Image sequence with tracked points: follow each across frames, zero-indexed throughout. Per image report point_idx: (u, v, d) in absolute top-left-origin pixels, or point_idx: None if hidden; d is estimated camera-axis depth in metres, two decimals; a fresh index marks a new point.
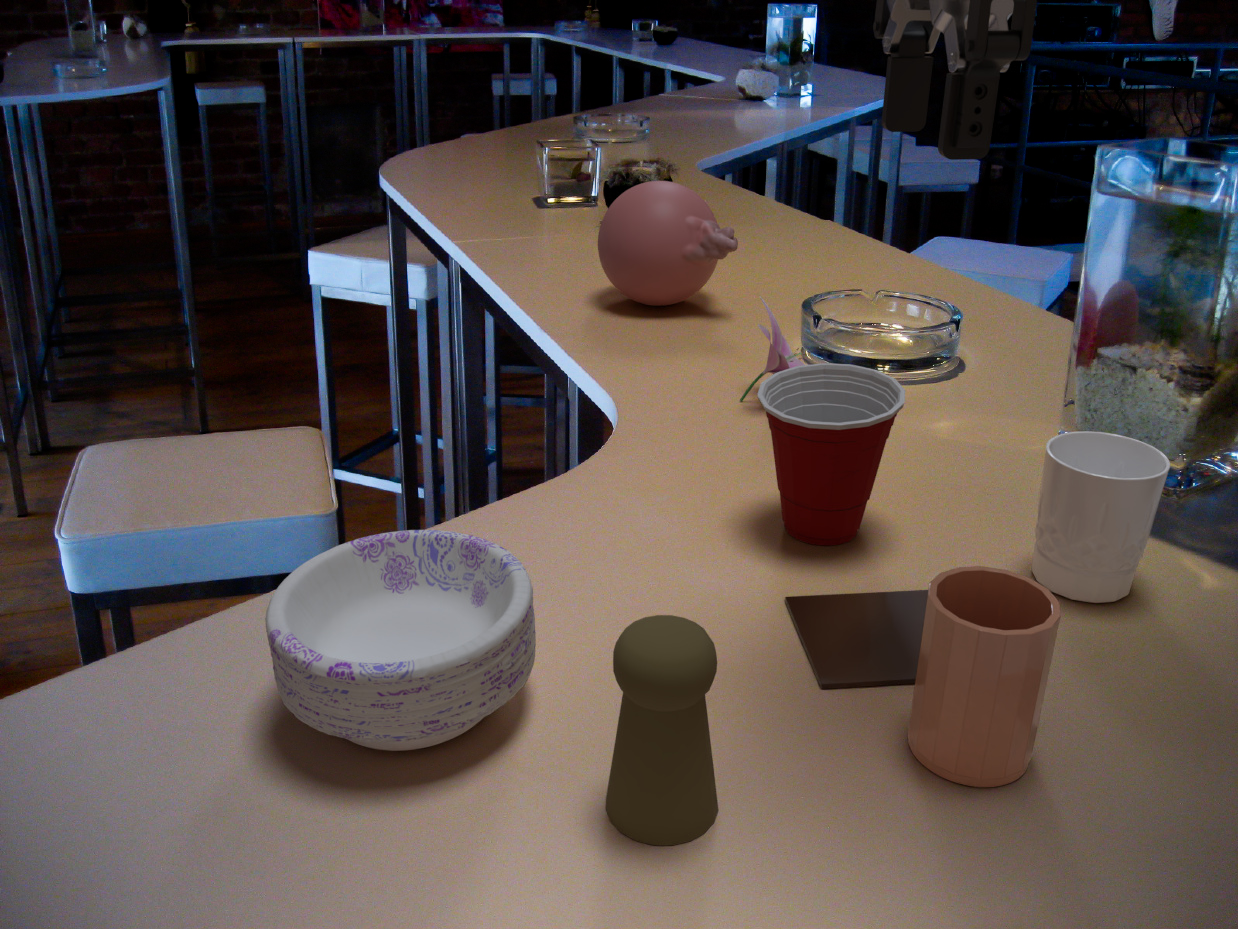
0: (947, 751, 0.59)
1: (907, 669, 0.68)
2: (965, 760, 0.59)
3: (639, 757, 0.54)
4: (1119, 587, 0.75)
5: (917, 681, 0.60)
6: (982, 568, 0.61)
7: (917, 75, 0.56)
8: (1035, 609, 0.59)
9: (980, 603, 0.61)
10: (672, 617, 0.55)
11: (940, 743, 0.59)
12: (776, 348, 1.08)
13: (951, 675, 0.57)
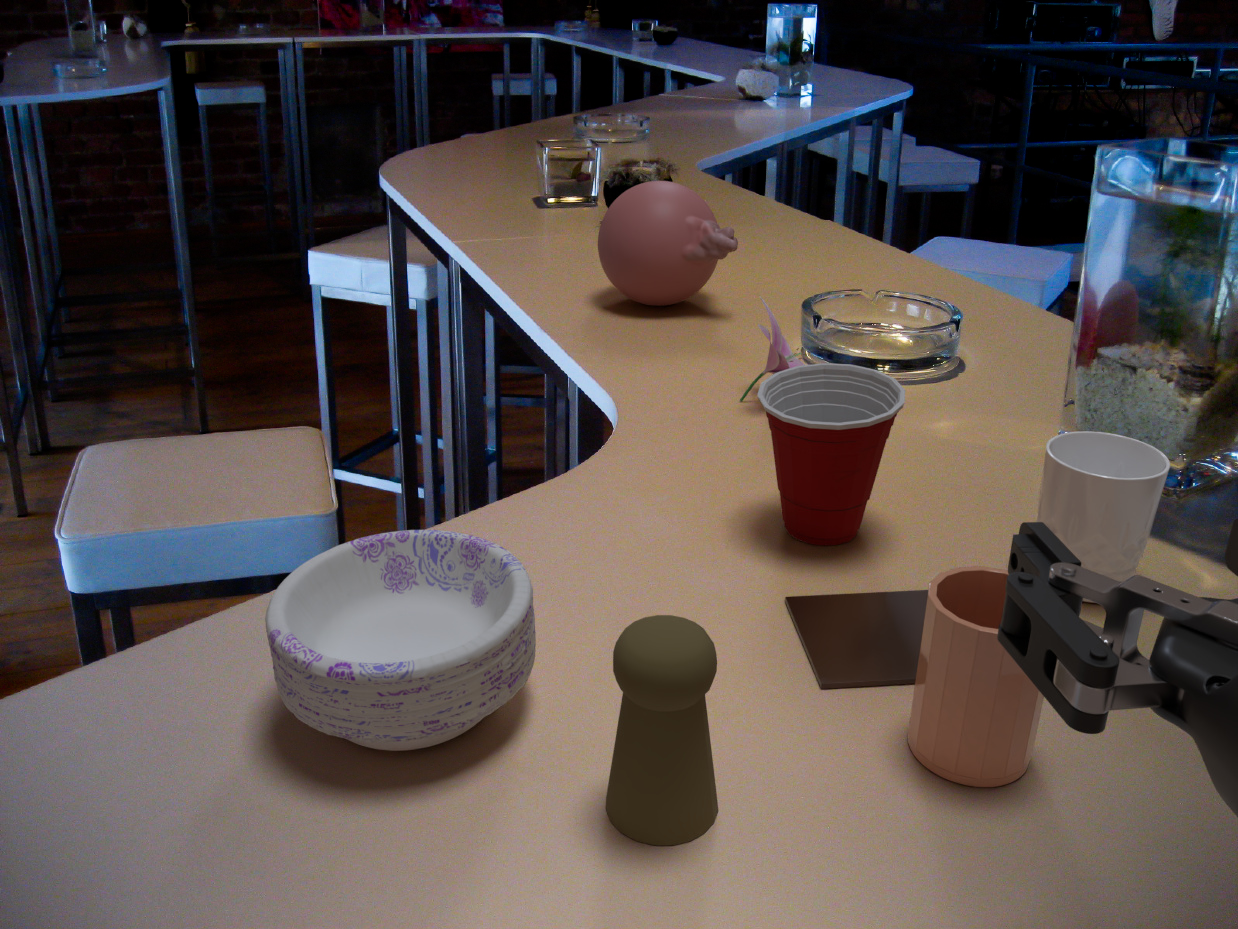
0: (947, 751, 0.59)
1: (907, 669, 0.68)
2: (965, 760, 0.59)
3: (639, 757, 0.54)
4: None
5: (917, 681, 0.60)
6: (982, 568, 0.61)
7: None
8: None
9: (980, 603, 0.61)
10: (672, 617, 0.55)
11: (940, 743, 0.59)
12: (776, 348, 1.08)
13: (951, 675, 0.57)
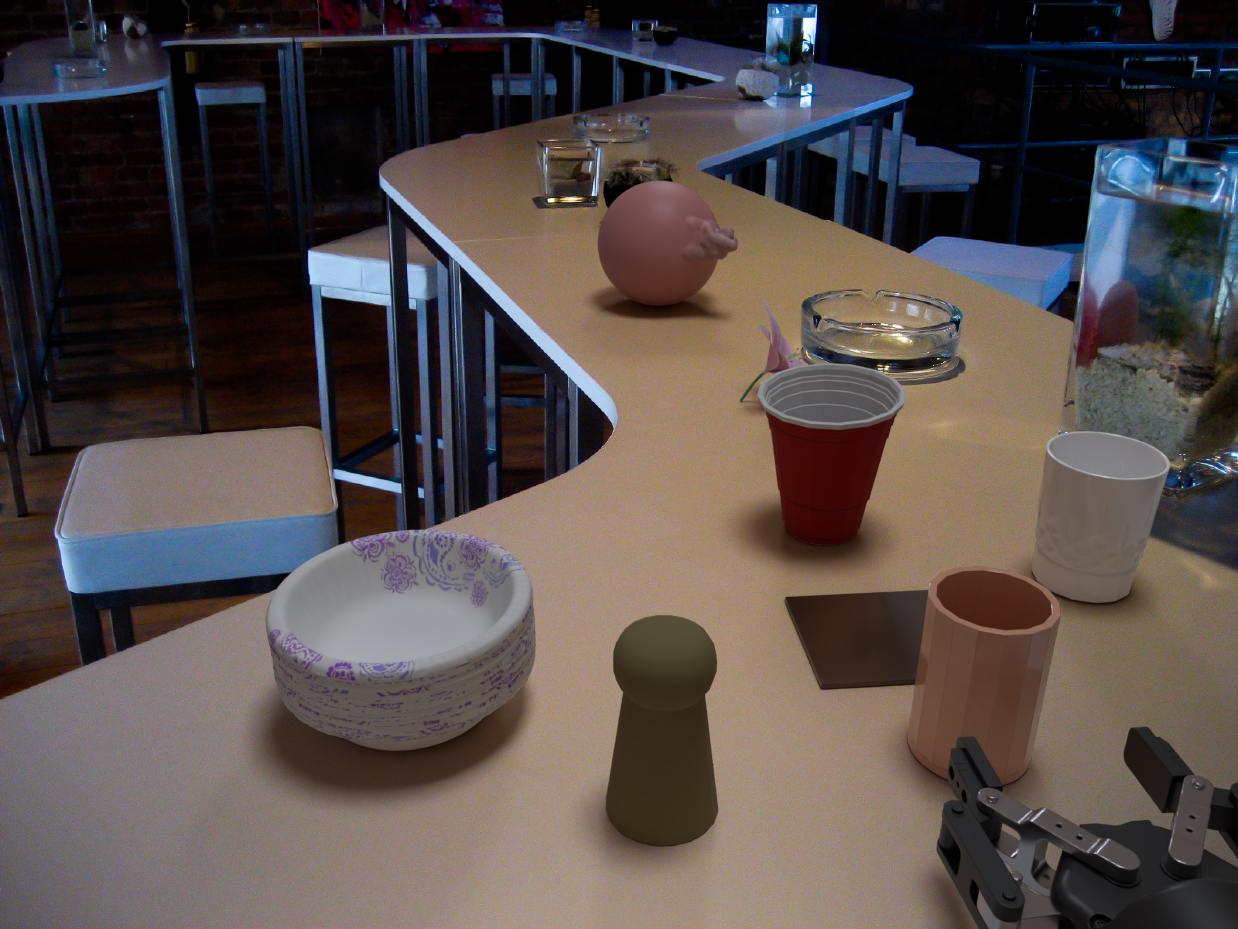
0: (947, 751, 0.59)
1: (907, 669, 0.68)
2: None
3: (639, 757, 0.54)
4: (1119, 587, 0.75)
5: (917, 681, 0.60)
6: (982, 568, 0.61)
7: None
8: (1035, 609, 0.59)
9: (980, 603, 0.61)
10: (672, 617, 0.55)
11: (940, 743, 0.59)
12: (776, 348, 1.08)
13: (951, 675, 0.57)
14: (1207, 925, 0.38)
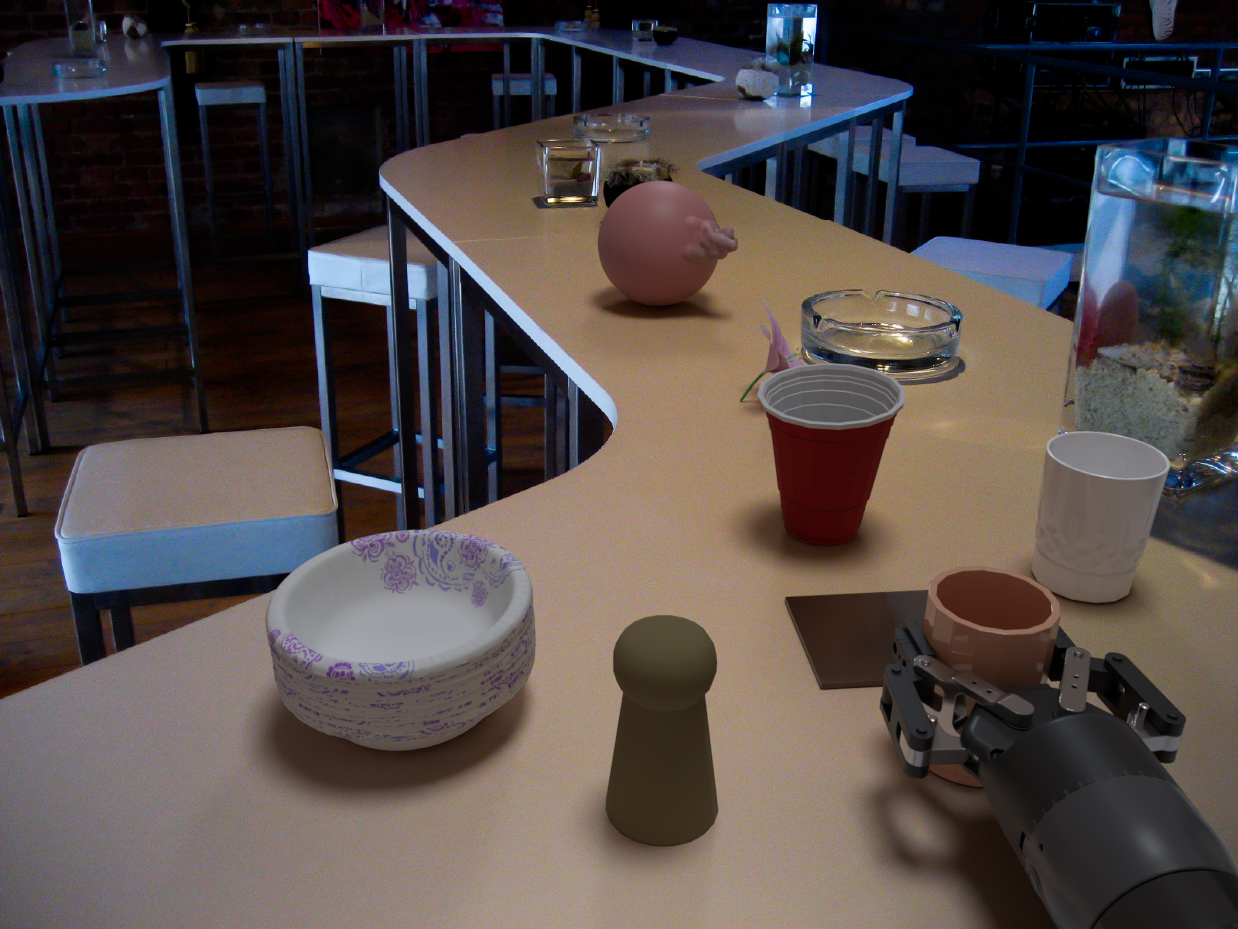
0: None
1: None
2: None
3: (639, 757, 0.54)
4: (1119, 587, 0.75)
5: None
6: (982, 568, 0.61)
7: None
8: (1035, 609, 0.59)
9: (980, 603, 0.61)
10: (672, 617, 0.55)
11: None
12: (776, 348, 1.08)
13: None
14: (1078, 745, 0.47)
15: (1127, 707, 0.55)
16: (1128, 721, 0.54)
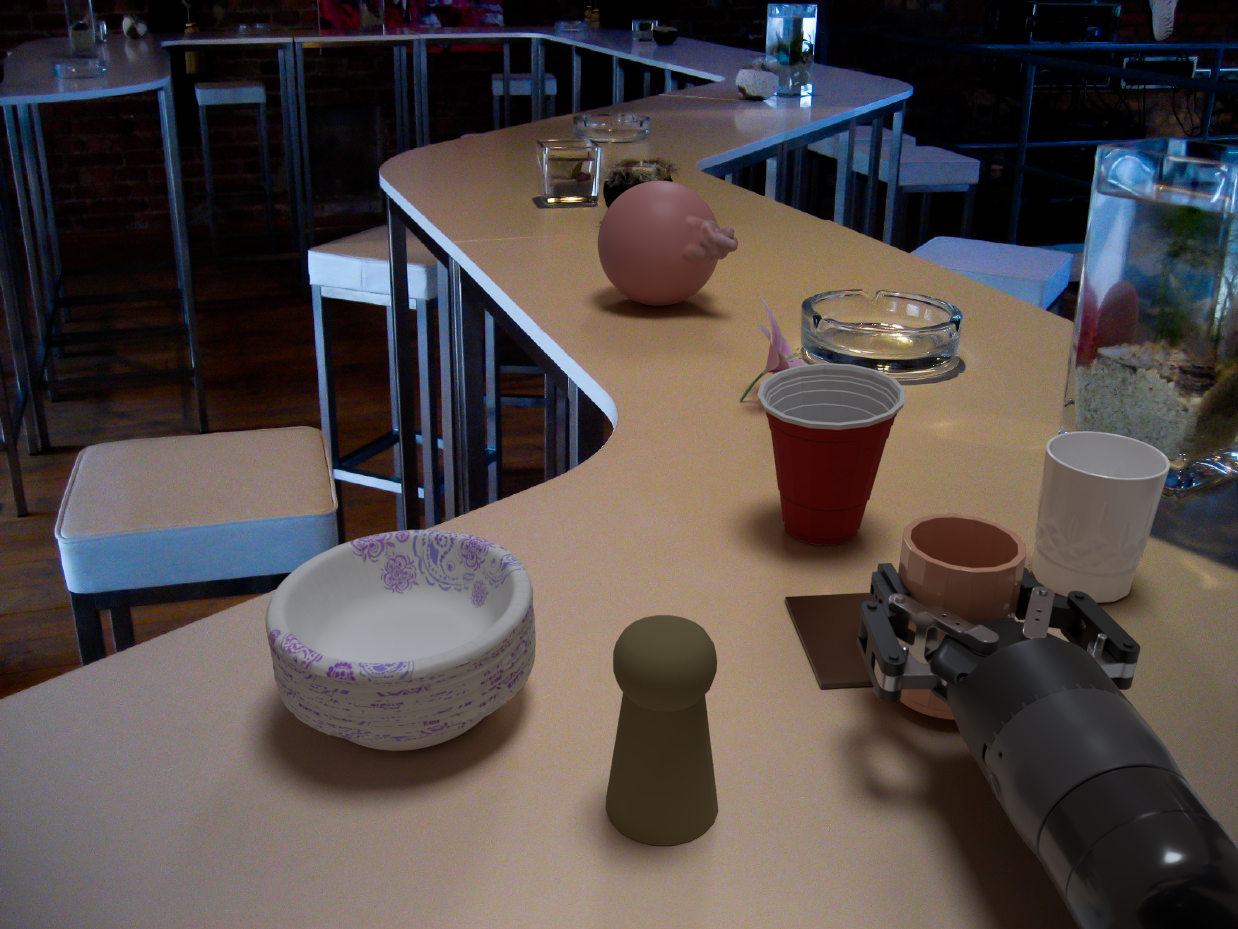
0: None
1: None
2: None
3: (639, 757, 0.54)
4: (1119, 587, 0.75)
5: None
6: (954, 515, 0.65)
7: None
8: (1004, 553, 0.63)
9: (953, 549, 0.65)
10: (672, 617, 0.55)
11: None
12: (776, 348, 1.08)
13: None
14: (1036, 664, 0.51)
15: (1087, 639, 0.59)
16: (1088, 651, 0.58)
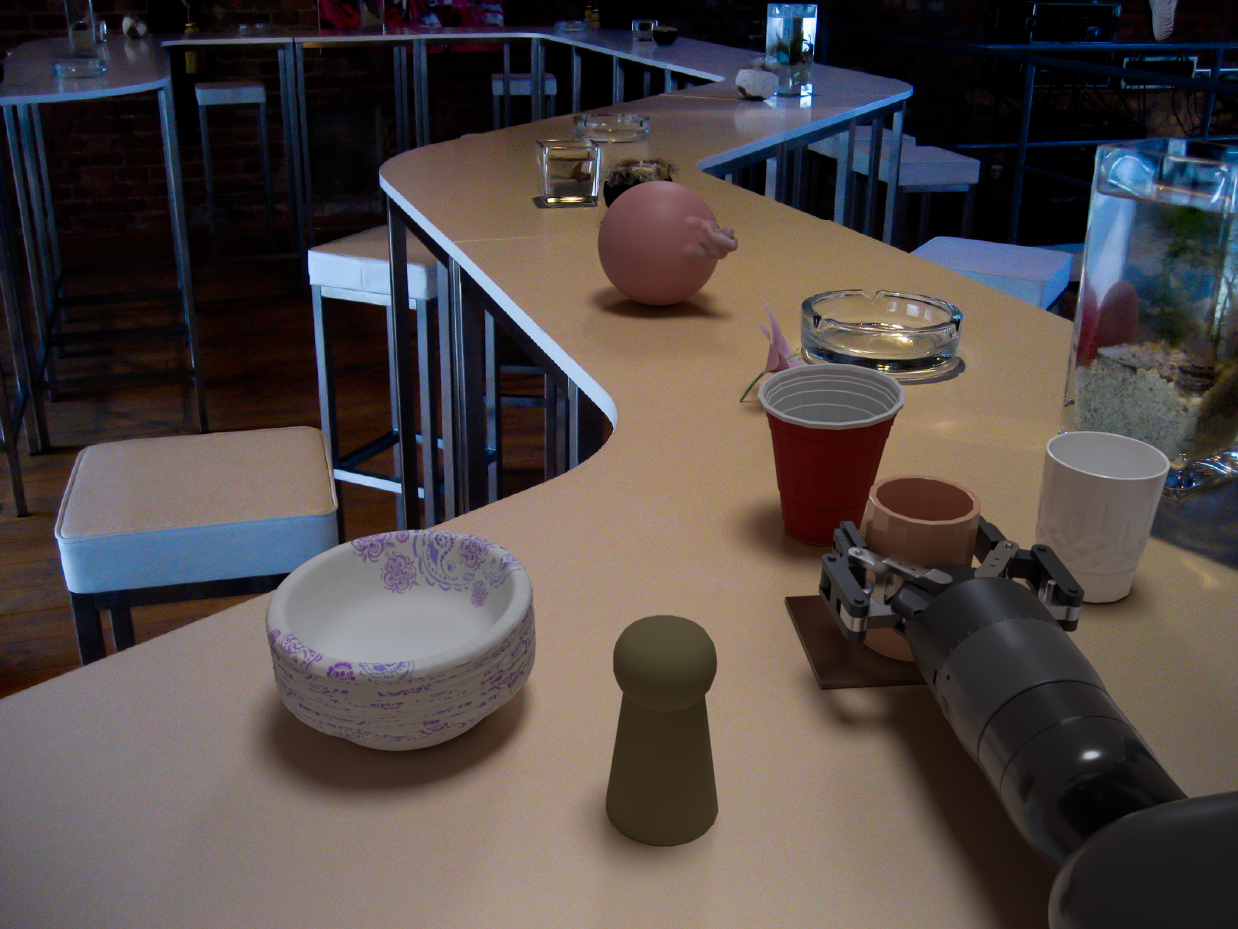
0: (886, 631, 0.69)
1: (907, 669, 0.68)
2: (901, 638, 0.68)
3: (639, 757, 0.54)
4: (1119, 587, 0.75)
5: None
6: (917, 476, 0.70)
7: None
8: (962, 510, 0.69)
9: (916, 507, 0.71)
10: (672, 617, 0.55)
11: None
12: (776, 348, 1.08)
13: None
14: (982, 598, 0.57)
15: (1043, 587, 0.65)
16: (1038, 595, 0.63)
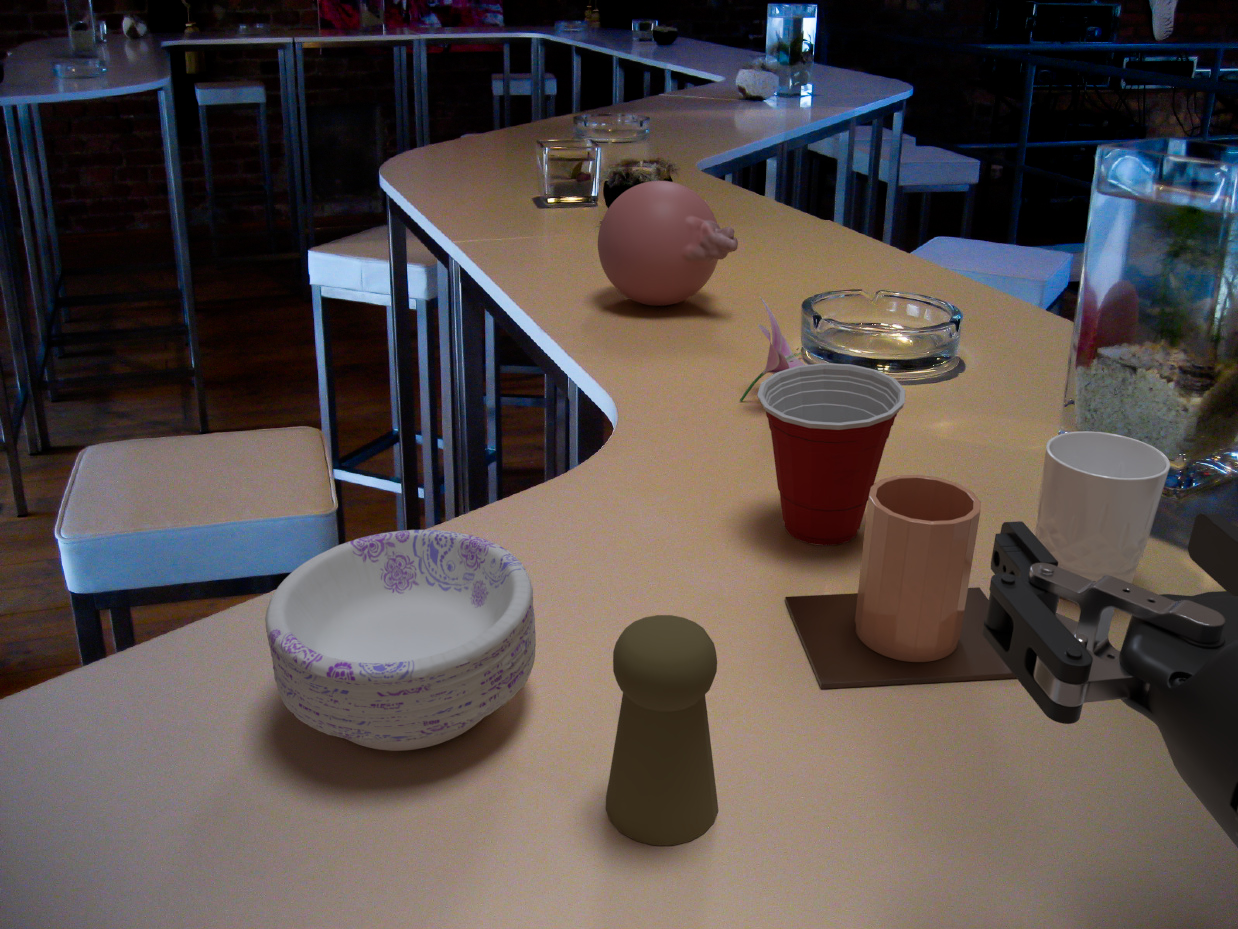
0: (886, 631, 0.69)
1: (907, 669, 0.68)
2: (901, 638, 0.68)
3: (639, 757, 0.54)
4: None
5: (861, 573, 0.70)
6: (917, 476, 0.70)
7: None
8: (962, 510, 0.69)
9: (916, 507, 0.71)
10: (672, 617, 0.55)
11: (880, 624, 0.69)
12: (776, 348, 1.08)
13: (887, 562, 0.67)
14: None
15: None
16: None
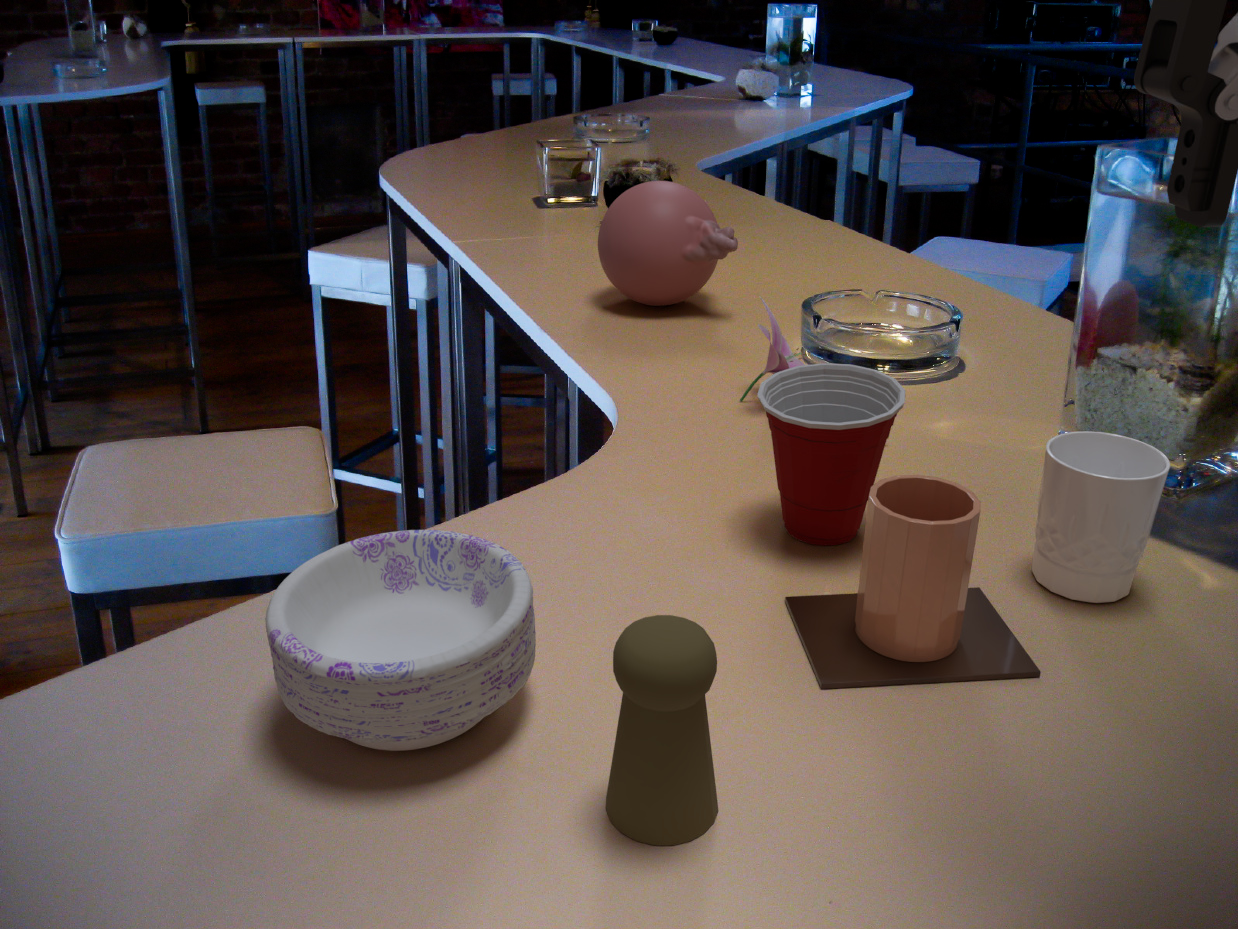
0: (886, 631, 0.69)
1: (907, 669, 0.68)
2: (901, 638, 0.68)
3: (639, 757, 0.54)
4: (1119, 587, 0.75)
5: (861, 573, 0.70)
6: (917, 476, 0.70)
7: None
8: (962, 510, 0.69)
9: (916, 507, 0.71)
10: (672, 617, 0.55)
11: (880, 624, 0.69)
12: (776, 348, 1.08)
13: (887, 562, 0.67)
14: None
15: None
16: None
